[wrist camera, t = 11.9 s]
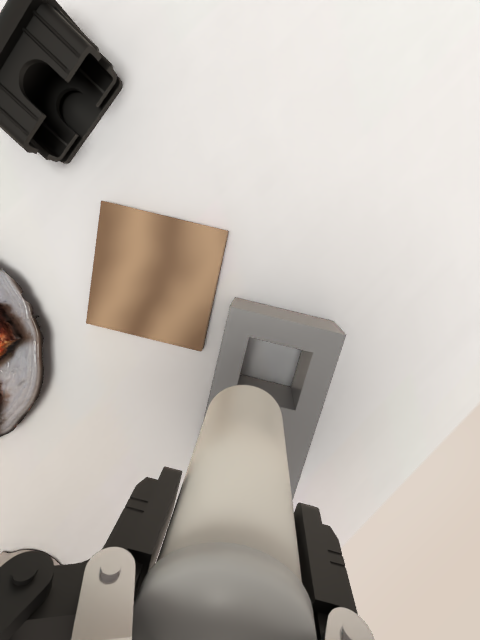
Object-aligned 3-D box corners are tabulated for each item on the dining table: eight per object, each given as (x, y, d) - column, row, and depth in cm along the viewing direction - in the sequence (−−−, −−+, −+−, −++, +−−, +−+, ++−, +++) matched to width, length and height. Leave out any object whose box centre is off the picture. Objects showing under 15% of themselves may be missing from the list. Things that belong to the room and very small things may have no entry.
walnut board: (91, 320, 34) (86, 323, 33) (106, 202, 31) (101, 200, 30) (203, 348, 34) (201, 351, 33) (228, 231, 31) (227, 230, 30)
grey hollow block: (198, 451, 36) (189, 483, 32) (234, 297, 32) (229, 306, 27) (286, 473, 36) (289, 509, 31) (333, 321, 32) (346, 334, 27)
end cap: (65, 17, 28) (4, -53, 21) (129, 79, 29) (88, 30, 22) (4, 115, 30) (-69, 78, 23) (64, 170, 31) (10, 150, 24)
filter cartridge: (195, 445, 19) (112, 691, 9) (213, 372, 18) (143, 550, 8) (273, 465, 19) (287, 739, 9) (295, 393, 18) (344, 602, 8)
